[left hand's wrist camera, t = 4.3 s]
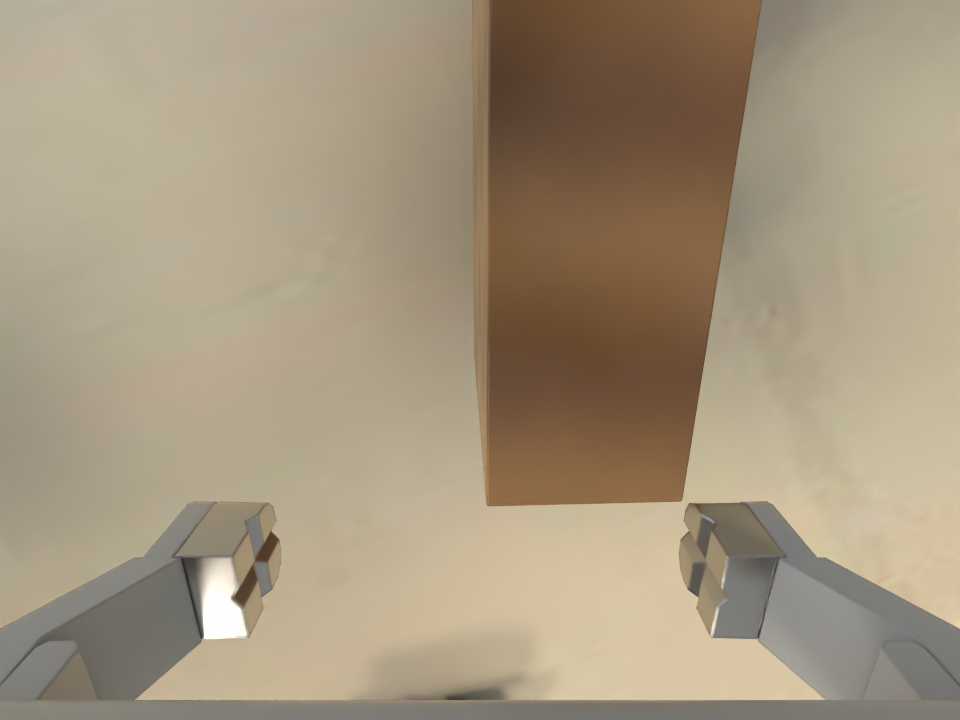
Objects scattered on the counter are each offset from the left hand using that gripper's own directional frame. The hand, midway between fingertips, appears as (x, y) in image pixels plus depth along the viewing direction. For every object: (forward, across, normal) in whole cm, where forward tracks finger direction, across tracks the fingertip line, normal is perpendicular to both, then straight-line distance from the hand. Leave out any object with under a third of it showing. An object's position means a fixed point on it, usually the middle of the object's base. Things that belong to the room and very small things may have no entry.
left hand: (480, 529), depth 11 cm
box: (+18, -3, -8) cm, 20 cm away
